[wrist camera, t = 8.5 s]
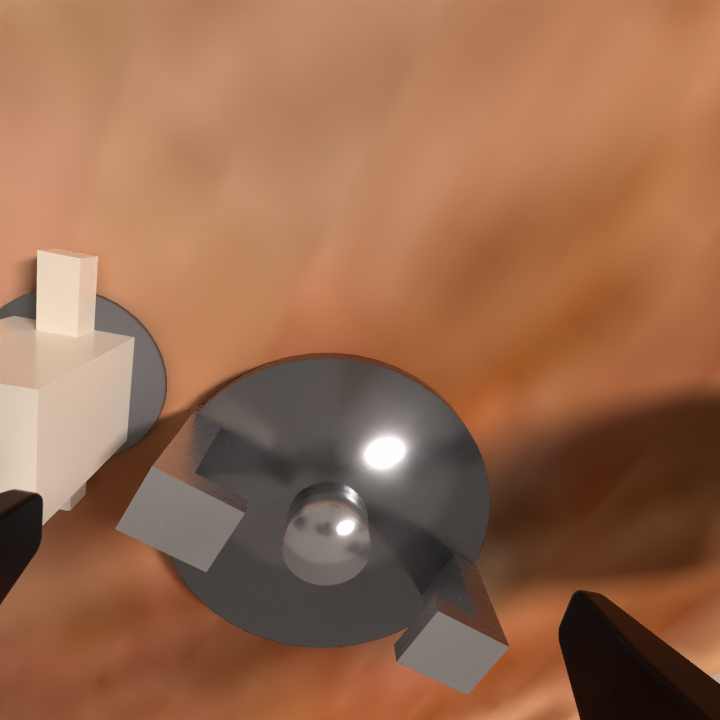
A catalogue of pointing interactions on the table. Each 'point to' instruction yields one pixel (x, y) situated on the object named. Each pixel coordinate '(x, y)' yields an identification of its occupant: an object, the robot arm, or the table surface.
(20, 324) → the cream block with tab
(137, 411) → the rubber pad
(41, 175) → the table surface
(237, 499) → the lugged metal disc
